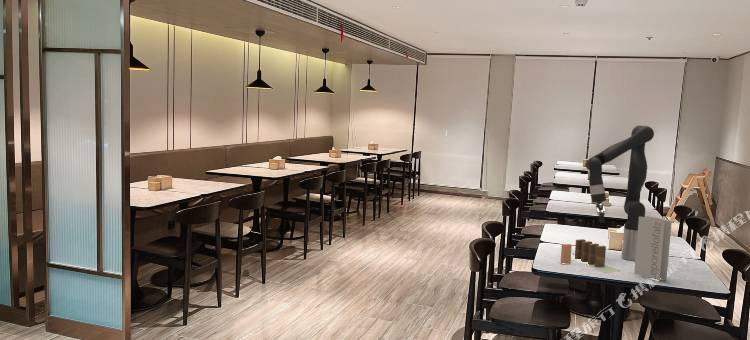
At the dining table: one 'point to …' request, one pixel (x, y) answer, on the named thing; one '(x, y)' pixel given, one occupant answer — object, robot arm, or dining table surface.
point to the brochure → (652, 247)
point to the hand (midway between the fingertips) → (602, 222)
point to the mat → (605, 269)
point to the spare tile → (566, 253)
